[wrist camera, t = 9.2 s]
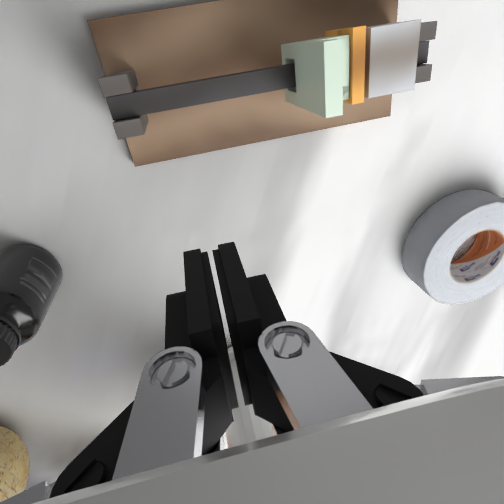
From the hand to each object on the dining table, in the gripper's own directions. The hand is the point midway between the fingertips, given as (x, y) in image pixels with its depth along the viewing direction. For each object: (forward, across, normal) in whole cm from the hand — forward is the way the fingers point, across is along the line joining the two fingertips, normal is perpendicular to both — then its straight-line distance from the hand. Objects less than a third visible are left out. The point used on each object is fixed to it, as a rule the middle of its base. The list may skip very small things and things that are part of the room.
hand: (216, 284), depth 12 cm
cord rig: (+26, -8, -5) cm, 28 cm away
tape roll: (+28, -33, +20) cm, 48 cm away
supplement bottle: (+27, +20, +11) cm, 35 cm away
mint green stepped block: (+23, -11, -5) cm, 26 cm away
